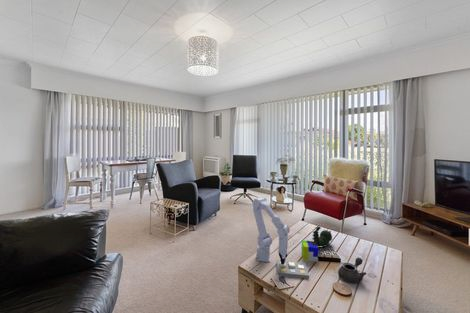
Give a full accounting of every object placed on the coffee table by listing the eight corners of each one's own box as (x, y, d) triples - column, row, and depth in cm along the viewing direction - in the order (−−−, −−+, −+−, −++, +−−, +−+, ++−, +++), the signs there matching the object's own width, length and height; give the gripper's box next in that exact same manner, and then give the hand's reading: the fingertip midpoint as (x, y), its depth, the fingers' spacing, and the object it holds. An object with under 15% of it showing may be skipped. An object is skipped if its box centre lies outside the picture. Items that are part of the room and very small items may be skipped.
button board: (277, 275, 131) (277, 272, 131) (276, 262, 145) (276, 259, 145) (309, 278, 128) (309, 275, 128) (304, 265, 142) (304, 262, 142)
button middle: (289, 267, 137) (289, 265, 137) (288, 264, 140) (288, 262, 140) (294, 268, 136) (294, 265, 136) (294, 265, 140) (294, 262, 140)
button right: (298, 270, 136) (298, 267, 136) (297, 267, 139) (297, 264, 139) (304, 270, 135) (304, 268, 135) (303, 267, 139) (303, 265, 139)
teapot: (362, 290, 119) (363, 273, 118) (334, 277, 130) (335, 262, 130) (372, 276, 131) (372, 261, 131) (346, 265, 143) (346, 251, 142)
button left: (279, 267, 138) (280, 264, 137) (279, 264, 141) (279, 261, 141) (285, 267, 137) (285, 265, 137) (285, 264, 141) (285, 262, 140)
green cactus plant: (320, 254, 161) (336, 242, 176) (320, 230, 159) (335, 220, 174) (309, 249, 168) (325, 238, 184) (309, 227, 166) (325, 217, 181)
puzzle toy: (317, 261, 148) (318, 248, 147) (303, 259, 150) (303, 246, 149) (315, 254, 157) (315, 241, 157) (301, 252, 159) (302, 240, 159)
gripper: (290, 249, 130) (290, 270, 131) (288, 239, 145) (287, 258, 145) (279, 248, 131) (278, 269, 132) (277, 238, 146) (277, 257, 147)
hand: (282, 263), depth 139 cm, fingers closed, pressing on button left
